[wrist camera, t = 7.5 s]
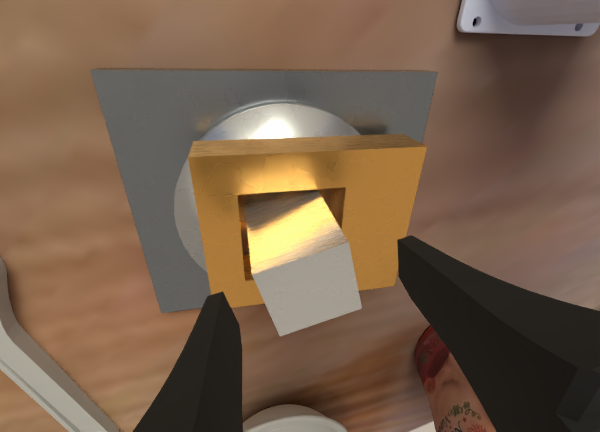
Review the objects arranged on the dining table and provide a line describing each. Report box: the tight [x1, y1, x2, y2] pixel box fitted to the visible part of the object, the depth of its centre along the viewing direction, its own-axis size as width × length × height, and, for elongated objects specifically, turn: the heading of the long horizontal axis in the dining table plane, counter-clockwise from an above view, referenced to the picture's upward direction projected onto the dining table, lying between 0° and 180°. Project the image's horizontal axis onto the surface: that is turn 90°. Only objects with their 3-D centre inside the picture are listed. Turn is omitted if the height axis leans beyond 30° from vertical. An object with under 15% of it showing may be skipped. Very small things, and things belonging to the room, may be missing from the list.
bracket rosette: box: [90, 68, 438, 313], centre depth 19 cm, size 18×16×4 cm
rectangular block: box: [244, 189, 362, 336], centre depth 16 cm, size 4×4×7 cm
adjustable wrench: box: [0, 257, 119, 432], centre depth 23 cm, size 25×6×2 cm, turn 3°
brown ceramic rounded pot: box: [415, 326, 496, 432], centre depth 28 cm, size 20×12×14 cm, turn 178°
